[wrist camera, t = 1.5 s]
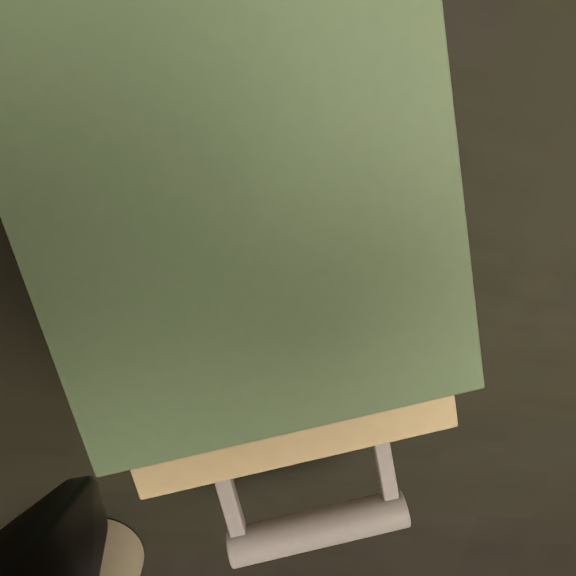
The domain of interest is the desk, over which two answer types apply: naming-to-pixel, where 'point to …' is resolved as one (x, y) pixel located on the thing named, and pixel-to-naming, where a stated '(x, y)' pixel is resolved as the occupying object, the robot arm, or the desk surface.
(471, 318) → the green drawer cabinet
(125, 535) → the cylinder
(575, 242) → the desk surface
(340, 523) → the pod drawer
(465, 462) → the desk surface
